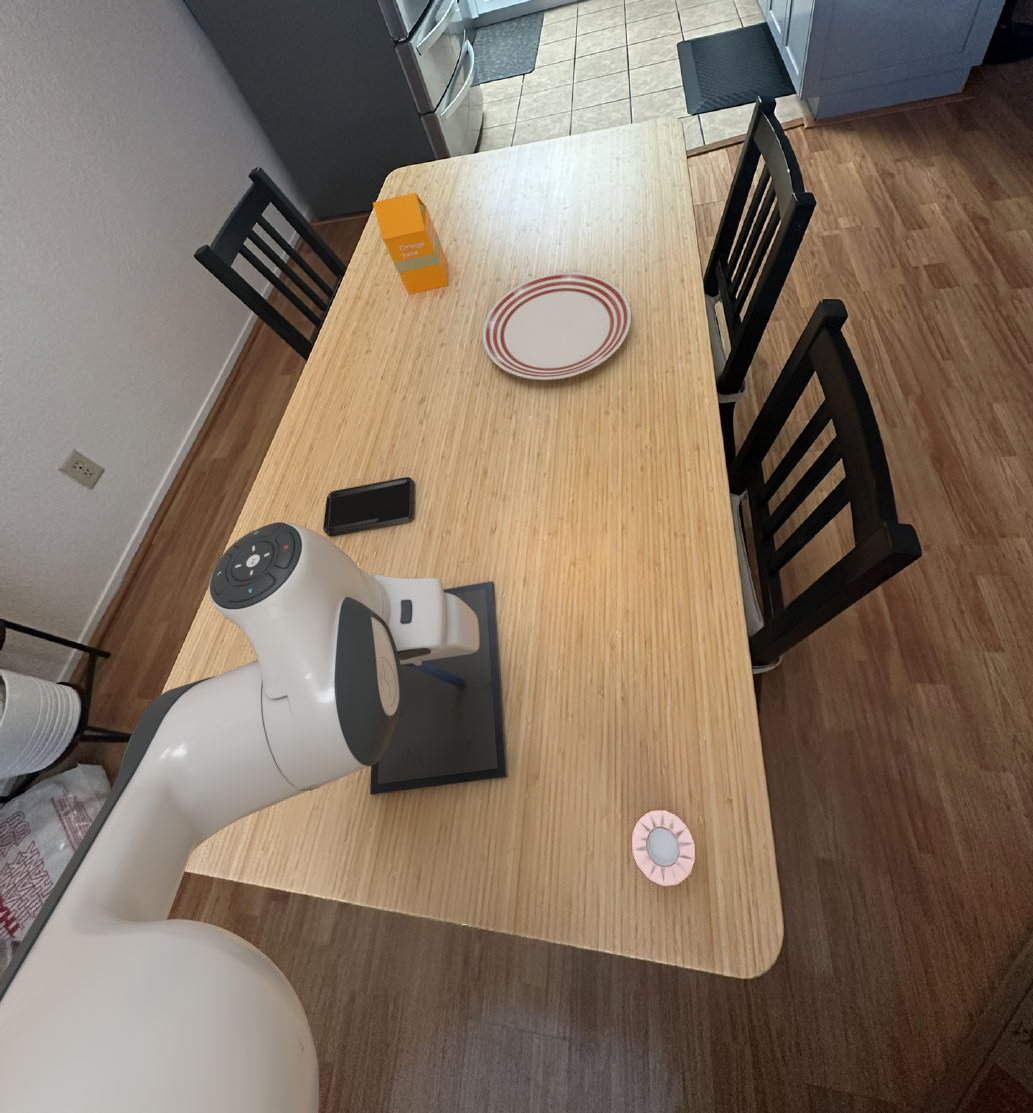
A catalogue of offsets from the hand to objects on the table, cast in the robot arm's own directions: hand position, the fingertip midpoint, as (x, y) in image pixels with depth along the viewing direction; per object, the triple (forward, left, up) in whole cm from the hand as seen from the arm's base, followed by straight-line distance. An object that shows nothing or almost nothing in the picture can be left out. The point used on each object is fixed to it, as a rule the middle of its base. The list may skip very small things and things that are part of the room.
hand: (404, 660), depth 65 cm
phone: (+29, +12, -15) cm, 35 cm away
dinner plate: (+59, -23, -15) cm, 65 cm away
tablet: (+1, +1, -15) cm, 15 cm away
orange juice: (+83, +2, -15) cm, 84 cm away
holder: (-19, -24, -15) cm, 34 cm away
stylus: (0, -1, -5) cm, 5 cm away
